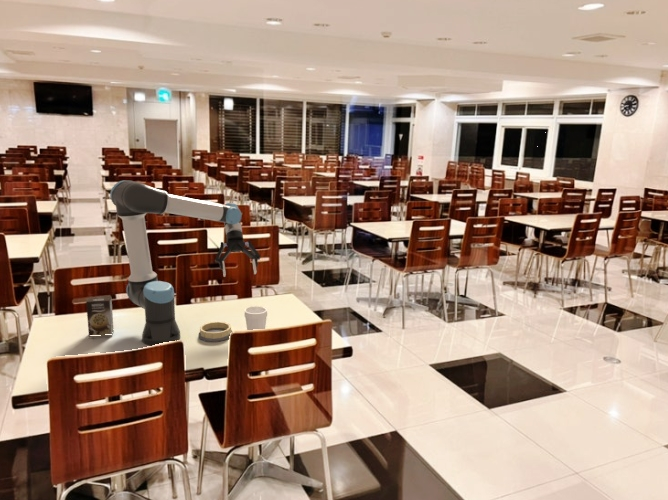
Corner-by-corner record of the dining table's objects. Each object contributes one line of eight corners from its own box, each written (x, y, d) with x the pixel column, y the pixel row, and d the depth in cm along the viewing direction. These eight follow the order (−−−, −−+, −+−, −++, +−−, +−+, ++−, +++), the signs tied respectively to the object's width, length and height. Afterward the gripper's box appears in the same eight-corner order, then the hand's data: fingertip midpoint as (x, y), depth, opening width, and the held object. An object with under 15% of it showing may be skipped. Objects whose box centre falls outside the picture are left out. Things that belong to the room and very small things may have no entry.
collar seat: (199, 343, 212) (199, 335, 211) (197, 330, 225) (197, 322, 224) (234, 340, 216) (234, 331, 216) (230, 327, 229) (230, 320, 229)
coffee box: (88, 338, 214) (85, 301, 210) (91, 333, 220) (88, 296, 216) (112, 337, 216) (109, 300, 213) (114, 331, 222) (111, 295, 219)
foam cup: (269, 335, 222) (269, 306, 219) (264, 344, 213) (264, 314, 210) (248, 334, 223) (247, 305, 220) (242, 342, 214) (241, 313, 211)
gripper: (259, 236, 247) (266, 275, 237) (206, 239, 239) (211, 280, 229) (261, 228, 240) (269, 267, 230) (206, 230, 232) (211, 272, 222)
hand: (240, 274), depth 229 cm, fingers open, 13 cm apart
